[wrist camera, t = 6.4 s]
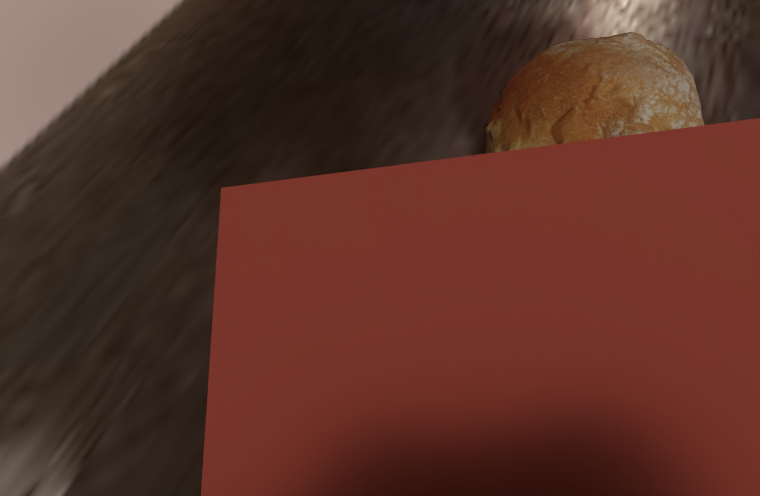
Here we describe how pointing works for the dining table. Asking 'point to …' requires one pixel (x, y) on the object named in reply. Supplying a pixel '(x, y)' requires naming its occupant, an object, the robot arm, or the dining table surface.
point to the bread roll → (594, 94)
